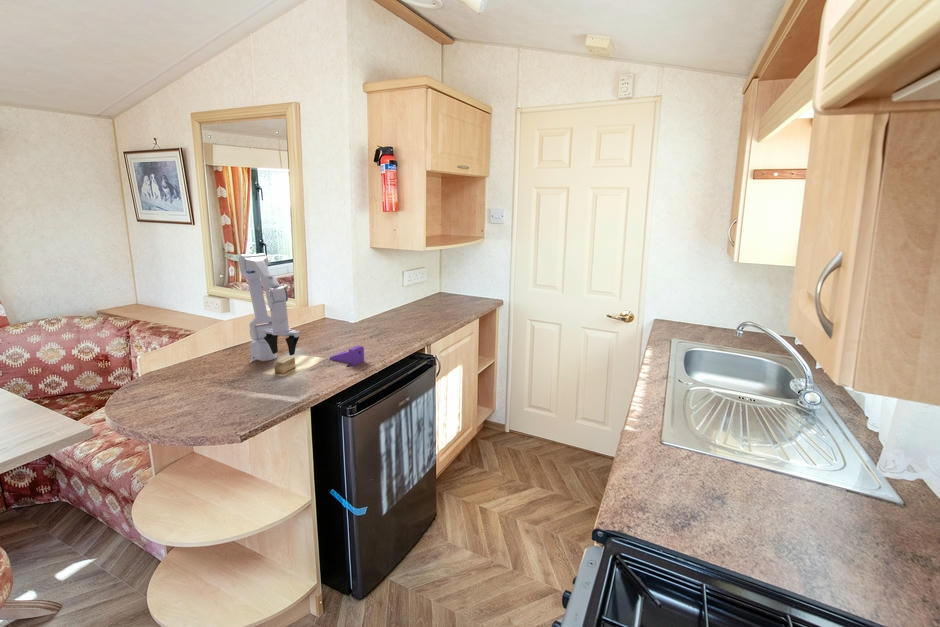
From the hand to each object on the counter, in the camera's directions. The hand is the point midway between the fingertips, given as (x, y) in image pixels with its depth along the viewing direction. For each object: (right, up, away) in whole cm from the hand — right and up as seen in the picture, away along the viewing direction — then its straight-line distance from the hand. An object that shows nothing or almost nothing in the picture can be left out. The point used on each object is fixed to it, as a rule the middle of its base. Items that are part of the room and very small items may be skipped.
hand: (283, 353), depth 183 cm
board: (+2, -6, +8) cm, 10 cm away
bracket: (+20, -4, +14) cm, 25 cm away
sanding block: (0, -7, +2) cm, 7 cm away
